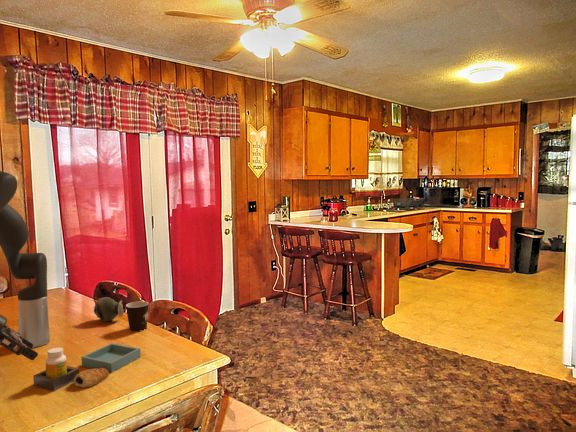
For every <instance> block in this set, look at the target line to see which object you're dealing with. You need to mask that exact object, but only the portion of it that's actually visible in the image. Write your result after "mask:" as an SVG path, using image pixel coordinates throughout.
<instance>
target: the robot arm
mask: <svg viewBox="0 0 576 432" xmlns="http://www.w3.org/2000/svg"><path fill="white" fill-rule="evenodd" d="M17 190H18V180H17V178H16V176H15V175H13V174H11V173H9V172H5V171H3V170H0V248H1V250H2V253H3V254H4V256H5V259H6V262H7V266H8V269H9V271H10V273H11V275H12V277H13V278H14V279H16V280H34V283H33V284H31V285H29V286H26V287H24V288H22V289H19V290H18V291H17V306H18V318H17V330H18V331H17V330H15V329H12V328H11V327H9V326H8V325H7V322H8V319H7V317H5V316H4V315H2V314H0V347H4V348H5V349H7V350H8V351H10V352H12V353H13V354H15V355H16V356H21V355H22V356H23V357H26V358H27V359H29V360H30V361H34V360H35V359H36V358H38V356H39V353H38V352H37V351H35V350H33V348H38V347H43V346H45V345H46V344H48V343H50V340H51V339H50V337H51V335H50V318H49V301H48V300H49V299H48V280H47V279H48V261H47V260H48V259H47V256H46V255H45V253H43V252H29V253H27V252H25V253H21V252H20V251H21V250H22V249H23V247H24V246H25V245H26V243H27V242H28V240H29V235H30V231H29V228H28V226H27V223H26V221H25V219H24V218H23V216H22V215H21V214H20V212H18V211H17V210H16V209H15V208H13V207H12V206H11V205H10V204H9V203H10V202H11V200H12V199H13V197H14V196H15V194H16V192H17ZM17 347H19V348H17Z"/></svg>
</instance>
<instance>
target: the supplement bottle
mask: <svg viewBox="0 0 576 432" xmlns="http://www.w3.org/2000/svg"><path fill="white" fill-rule="evenodd" d="M67 361H68V360H67V356H66V355H65V354H64V348H63V347H53V348H50V349H48V350H47V358H46V359H45V370H46V377H50V378H54V379H55V378H57V377H59V376H61V375H63V374H66V373H67V366H68V365H67Z"/></svg>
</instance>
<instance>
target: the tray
mask: <svg viewBox="0 0 576 432" xmlns="http://www.w3.org/2000/svg"><path fill="white" fill-rule="evenodd" d="M141 357H142V356H141V348H139V347H133V346H129V345H124V344H123V345H122V344H119V343H114V342H110V343H109V344H107V345H105V346H102V347H101V348H98V349H96V350H93V351H91V352H89V353H86V354H85V355H83V356H81V357H80V358H81V366H82V367H84V368H88V369H94V368H97V369H99V368H105V369H106V370H108V373H111V374H112V373H115V372H116V371H118V370H119V369H122V368H123V367H125V366H127V365H129V364H130V363H133V362H135V361H137V360H138V359H140V358H141Z"/></svg>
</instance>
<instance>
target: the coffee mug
mask: <svg viewBox="0 0 576 432" xmlns="http://www.w3.org/2000/svg"><path fill="white" fill-rule="evenodd" d="M149 304H150V303H149V302H148V301H142V300H140V301H131V302H129V303H127V304H125V309H126V314H127V321H128V326H129V327H128V328H129V331H130V330H131V332H133V331H138V332H141V331H140V330H143V331H145V330H146V329H147V327H148V318H149V317H148V316H149V307H150V306H149ZM144 329H145V330H144Z"/></svg>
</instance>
